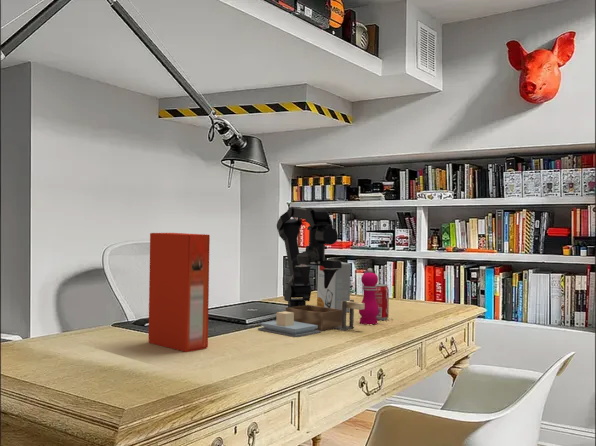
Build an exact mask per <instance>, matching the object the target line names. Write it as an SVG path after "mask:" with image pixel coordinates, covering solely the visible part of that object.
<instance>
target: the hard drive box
mask: <svg viewBox="0 0 596 446" xmlns="http://www.w3.org/2000/svg"><path fill="white" fill-rule="evenodd" d="M341 263H342V267H341V268H337V269H339V270H337V271H336V272H335V274H334V276H333V277H332V279H331V281H330V283H329V285H328V287H327V288H326V289H325V288H324V272H323V270H322V269H326V268H324V267H323V266H317V286H316V289H317V292H316V294H317V295H316V306H319V307H326V308H333V309H340V310H342V307H341V301H350V300H351V267H352V265H351V263H349V262H345V261H344V262H343V261H341ZM318 264H320V263H318ZM346 313H350V308H346Z"/></svg>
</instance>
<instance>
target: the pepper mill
mask: <svg viewBox="0 0 596 446" xmlns="http://www.w3.org/2000/svg"><path fill="white" fill-rule="evenodd" d="M360 280H361V284H363V285H362V290H363V297H362V301H361V302H360V303H365V309H363V310H358V314H359V315H360V316H361V317H360V318H359V324H361V323H362V325H367V324H374V325H377V324H378V320H377V318H376V316H377V315H378V314H379V308H378V305H377V302H376V299H375V290H376V284H379V283H378V282H379V277H378V275H377V274H376V273H374V272H373V269H372V268H371V267H369V268H367V272H365V273H363V274H362V276H361V279H360Z"/></svg>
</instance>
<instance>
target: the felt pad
mask: <svg viewBox="0 0 596 446" xmlns="http://www.w3.org/2000/svg"><path fill="white" fill-rule="evenodd" d="M257 330H258V331H261V332H267V333H271V334H278V335H283V336H288V337H292V338H299V337H300V338H301V337H306V336H311V335H315V334H320V333H321V332H322V331H318V330H314V331H310V332H304V333H299V334H291V333H285V332H280V331H275V330H269V329H264V327H263V326H261V327H258V328H257Z"/></svg>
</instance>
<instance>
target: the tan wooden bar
mask: <svg viewBox="0 0 596 446" xmlns="http://www.w3.org/2000/svg"><path fill="white" fill-rule="evenodd" d="M341 307H342V301H341ZM346 308H349V310H350V309H354V310H358V311H359V310H363V309H365V303H361V302H357V301H354V302H351V301H347V306H346Z"/></svg>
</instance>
